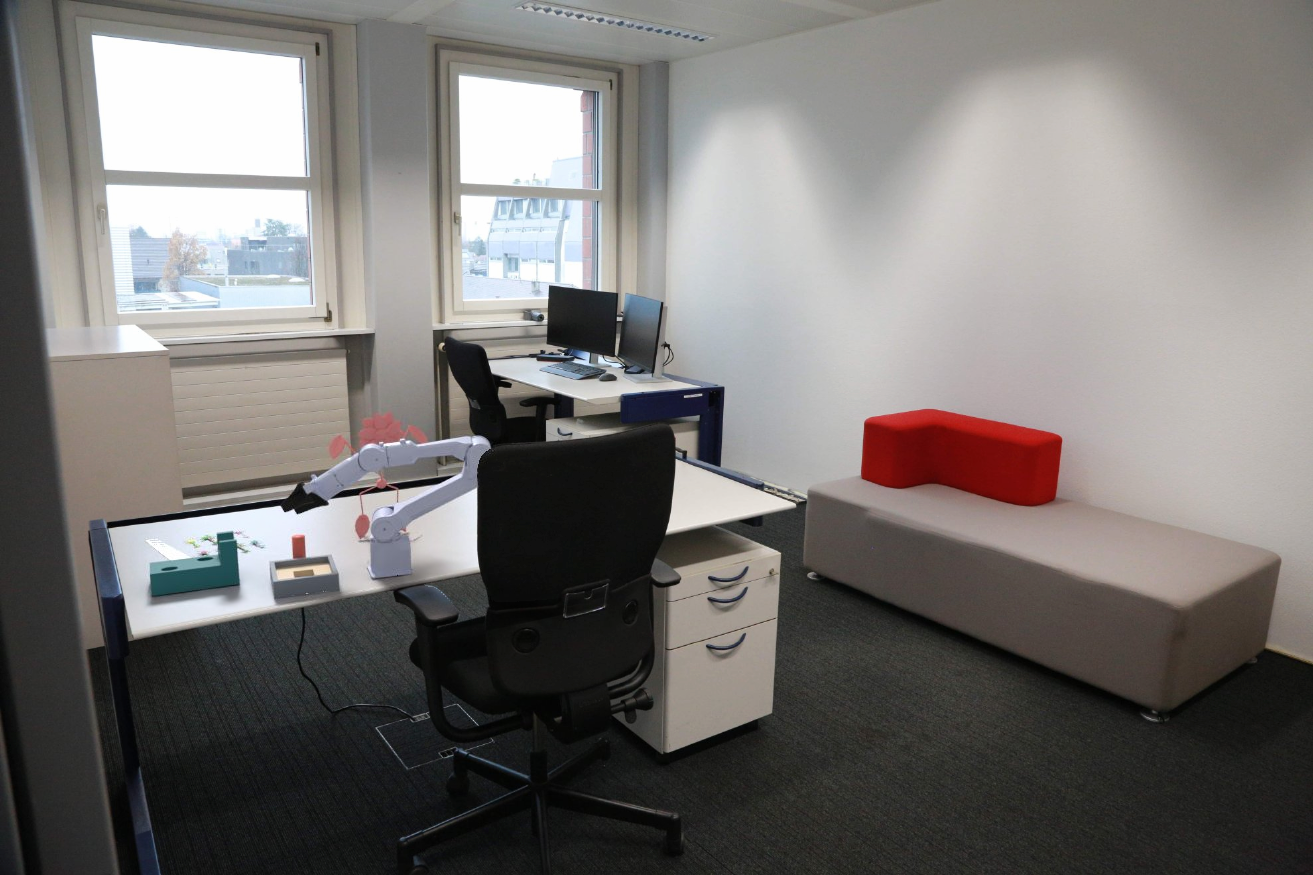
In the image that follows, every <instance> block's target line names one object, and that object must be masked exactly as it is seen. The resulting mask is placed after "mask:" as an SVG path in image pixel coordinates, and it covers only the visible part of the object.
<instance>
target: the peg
mask: <svg viewBox="0 0 1313 875" xmlns="http://www.w3.org/2000/svg"><path fill="white" fill-rule="evenodd" d="M291 543H292V544H291V546H292V547H291V548H292V559H295V558H304V557H307V554H306V553H307V551H306V535H304V534H295V535H292V536H291Z"/></svg>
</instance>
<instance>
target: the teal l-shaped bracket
mask: <svg viewBox="0 0 1313 875" xmlns="http://www.w3.org/2000/svg"><path fill="white" fill-rule="evenodd" d="M234 533H235V532H234V531H233V530H229V531H221V532H220V531H218V532H216V542H217V544H216V545H217V549H218V550H217V551H218V552H217V554H212V555H211V554H209V555H210V556H207V555H203V556H194V557H190V558H185V559H177V560H169V559H168V560H162V561H154V562H149V580H150V582H149V583H150V591H151V595H150V596H151V597H153V596H162V595H168V594H169V595H171V594H175V593H176V594H177V593H178V594H179V593H183V592H192V591H198V590H199V591H200V590H206V589H213V588H220V587H227V586H234V585H240V583H241V582H240V568H239V555H238V554H239V553H238V547H237V543H238V540H237V539H236V538H234V537H235V534H234Z"/></svg>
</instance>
